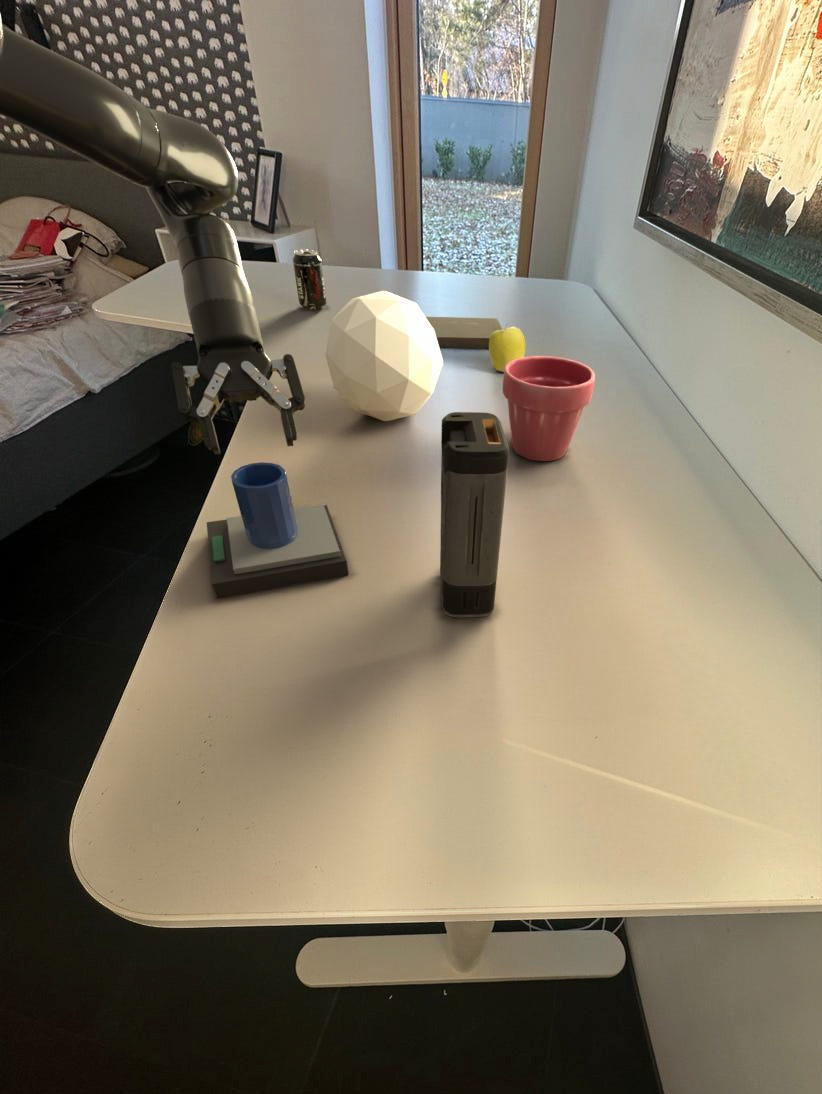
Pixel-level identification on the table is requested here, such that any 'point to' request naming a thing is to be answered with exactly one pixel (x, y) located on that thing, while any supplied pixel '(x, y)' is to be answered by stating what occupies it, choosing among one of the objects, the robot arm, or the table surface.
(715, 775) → the table surface
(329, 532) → the kitchen scale
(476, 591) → the electronic device
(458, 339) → the hardcover book
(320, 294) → the beverage can
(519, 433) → the flower pot
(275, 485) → the cup
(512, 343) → the apple
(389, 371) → the geometric sculpture
